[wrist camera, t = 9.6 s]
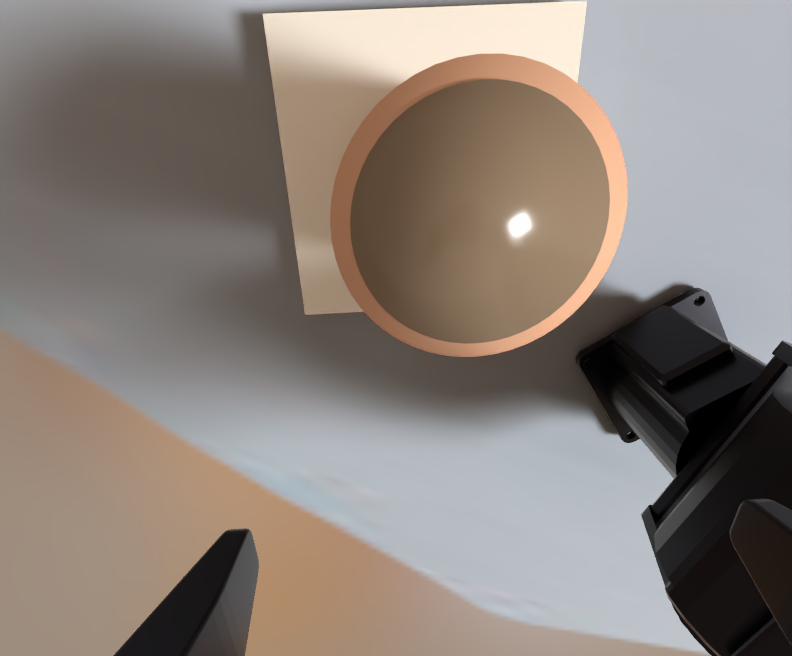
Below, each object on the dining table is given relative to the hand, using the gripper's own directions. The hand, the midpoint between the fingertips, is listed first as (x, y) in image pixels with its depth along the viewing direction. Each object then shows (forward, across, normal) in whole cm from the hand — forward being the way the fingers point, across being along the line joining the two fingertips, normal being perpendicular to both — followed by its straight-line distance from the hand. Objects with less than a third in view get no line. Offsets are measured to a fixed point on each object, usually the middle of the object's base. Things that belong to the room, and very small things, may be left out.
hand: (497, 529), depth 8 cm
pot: (+12, 0, -5) cm, 13 cm away
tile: (+13, 0, -5) cm, 14 cm away
